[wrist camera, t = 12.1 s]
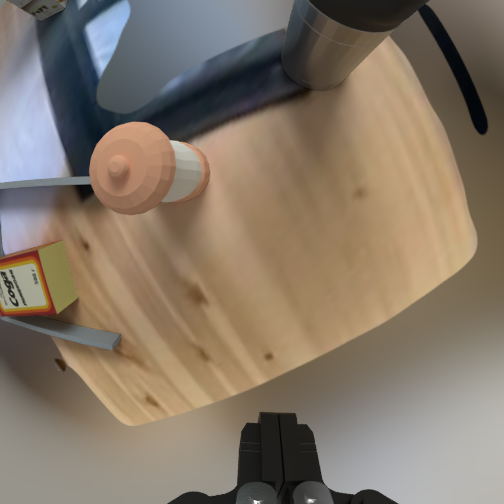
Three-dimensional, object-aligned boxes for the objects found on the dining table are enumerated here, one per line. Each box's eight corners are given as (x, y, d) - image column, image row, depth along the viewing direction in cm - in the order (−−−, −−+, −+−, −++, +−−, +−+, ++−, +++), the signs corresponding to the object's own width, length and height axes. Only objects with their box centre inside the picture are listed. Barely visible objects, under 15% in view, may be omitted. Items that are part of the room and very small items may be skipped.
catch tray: (-4, 183, 35) (-16, 184, 31) (112, 176, 35) (100, 176, 32) (10, 312, 41) (0, 319, 37) (121, 339, 41) (112, 350, 38)
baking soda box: (57, 314, 33) (0, 316, 34) (78, 297, 40) (20, 303, 40) (37, 249, 31) (-17, 264, 32) (63, 239, 37) (6, 254, 38)
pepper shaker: (149, 156, 35) (63, 140, 16) (201, 137, 34) (151, 95, 16) (164, 208, 36) (87, 235, 18) (217, 190, 36) (180, 201, 17)
